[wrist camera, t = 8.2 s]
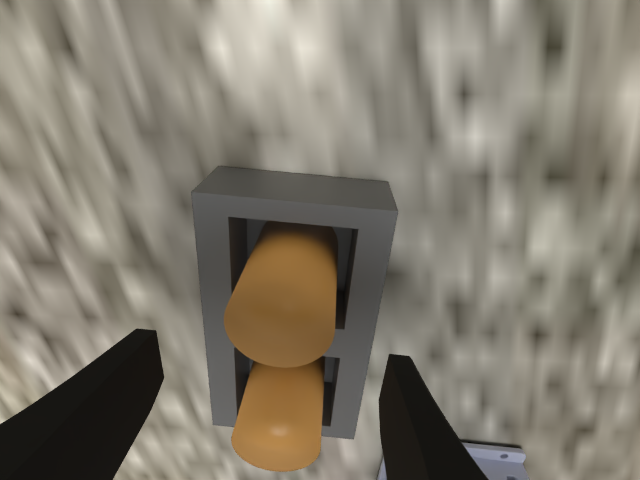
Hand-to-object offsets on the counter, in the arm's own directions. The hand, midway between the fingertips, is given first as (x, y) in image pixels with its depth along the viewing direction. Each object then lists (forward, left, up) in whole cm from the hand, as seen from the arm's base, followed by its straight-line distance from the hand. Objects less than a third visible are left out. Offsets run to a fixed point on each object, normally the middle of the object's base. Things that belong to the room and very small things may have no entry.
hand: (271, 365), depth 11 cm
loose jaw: (0, 0, -8) cm, 8 cm away
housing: (0, +3, -8) cm, 9 cm away
